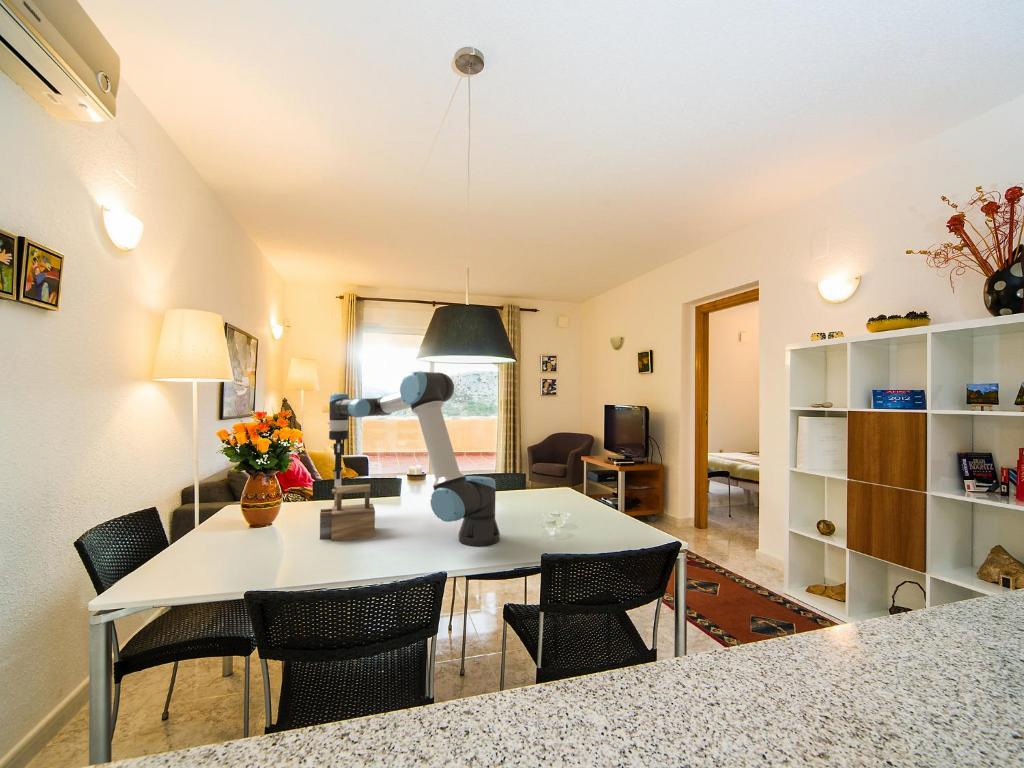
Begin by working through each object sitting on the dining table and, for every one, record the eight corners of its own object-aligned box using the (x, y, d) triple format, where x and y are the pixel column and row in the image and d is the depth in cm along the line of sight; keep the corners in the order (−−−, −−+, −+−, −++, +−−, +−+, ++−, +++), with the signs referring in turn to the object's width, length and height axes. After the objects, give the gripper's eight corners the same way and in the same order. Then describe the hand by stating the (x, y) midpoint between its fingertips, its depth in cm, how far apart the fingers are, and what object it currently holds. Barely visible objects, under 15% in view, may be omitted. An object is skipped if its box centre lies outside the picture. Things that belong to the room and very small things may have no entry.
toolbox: (374, 536, 174) (374, 515, 174) (319, 542, 167) (319, 519, 167) (372, 527, 185) (372, 507, 185) (320, 532, 178) (320, 511, 178)
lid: (374, 515, 174) (375, 487, 174) (319, 519, 167) (320, 491, 167) (372, 507, 185) (373, 481, 185) (320, 511, 178) (321, 484, 178)
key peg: (342, 508, 195) (343, 468, 195) (331, 508, 194) (332, 469, 194) (342, 505, 199) (343, 467, 199) (331, 506, 198) (332, 467, 198)
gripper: (329, 428, 203) (328, 482, 202) (328, 431, 188) (327, 490, 188) (347, 428, 205) (347, 481, 205) (348, 431, 191) (347, 489, 191)
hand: (337, 485), depth 196 cm, fingers closed on key peg, 2 cm apart
